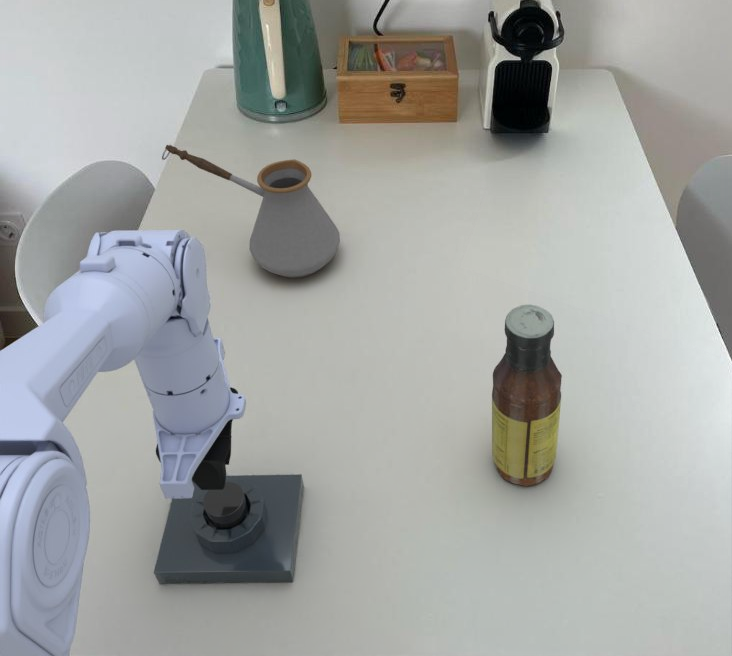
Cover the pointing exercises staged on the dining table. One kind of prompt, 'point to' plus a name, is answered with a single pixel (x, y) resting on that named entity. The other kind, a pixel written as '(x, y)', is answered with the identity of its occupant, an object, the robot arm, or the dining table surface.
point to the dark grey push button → (225, 506)
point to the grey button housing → (234, 536)
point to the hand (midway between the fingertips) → (215, 473)
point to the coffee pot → (283, 217)
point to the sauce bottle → (526, 399)
